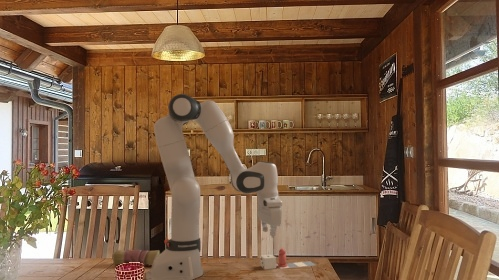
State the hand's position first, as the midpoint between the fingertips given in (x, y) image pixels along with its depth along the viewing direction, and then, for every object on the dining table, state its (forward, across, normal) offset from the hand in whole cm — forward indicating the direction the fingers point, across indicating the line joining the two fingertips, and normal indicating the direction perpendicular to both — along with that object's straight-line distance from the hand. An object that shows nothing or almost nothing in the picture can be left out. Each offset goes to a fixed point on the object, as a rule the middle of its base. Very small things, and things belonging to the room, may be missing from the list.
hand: (268, 233), depth 158 cm
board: (+15, 0, +11) cm, 19 cm away
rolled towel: (+14, -24, -52) cm, 59 cm away
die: (+14, 0, -1) cm, 14 cm away
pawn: (+14, 0, +5) cm, 15 cm away
